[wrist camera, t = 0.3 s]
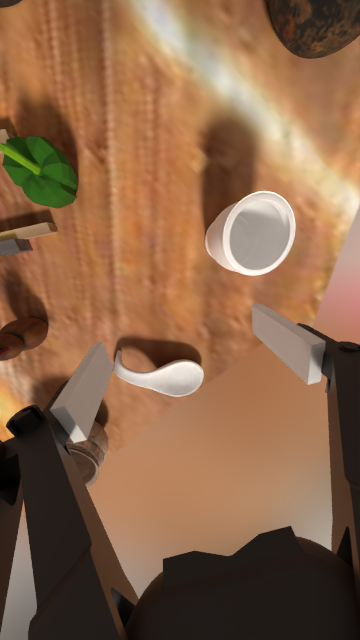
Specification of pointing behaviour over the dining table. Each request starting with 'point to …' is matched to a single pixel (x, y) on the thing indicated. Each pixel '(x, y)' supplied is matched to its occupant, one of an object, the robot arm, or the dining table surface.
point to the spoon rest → (164, 376)
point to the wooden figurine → (21, 336)
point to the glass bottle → (315, 25)
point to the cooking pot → (90, 453)
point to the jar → (252, 234)
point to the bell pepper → (40, 170)
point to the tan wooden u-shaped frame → (17, 238)
